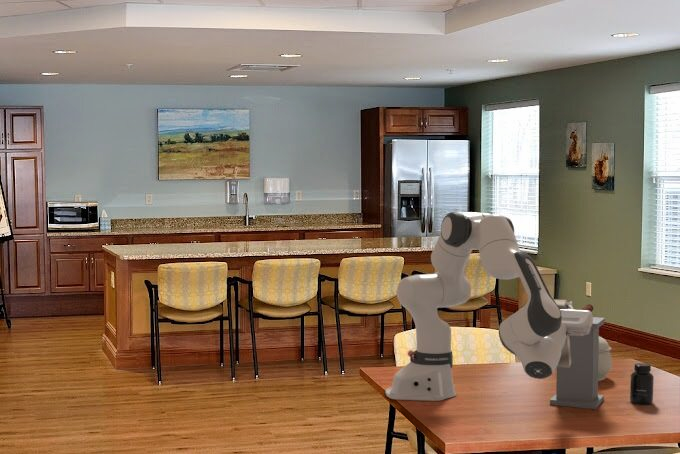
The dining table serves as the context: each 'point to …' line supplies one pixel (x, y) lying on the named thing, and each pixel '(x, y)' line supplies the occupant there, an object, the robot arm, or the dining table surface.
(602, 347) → the kettle
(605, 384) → the dining table surface
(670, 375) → the dining table surface
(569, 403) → the tool stand
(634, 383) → the supplement bottle
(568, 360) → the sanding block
